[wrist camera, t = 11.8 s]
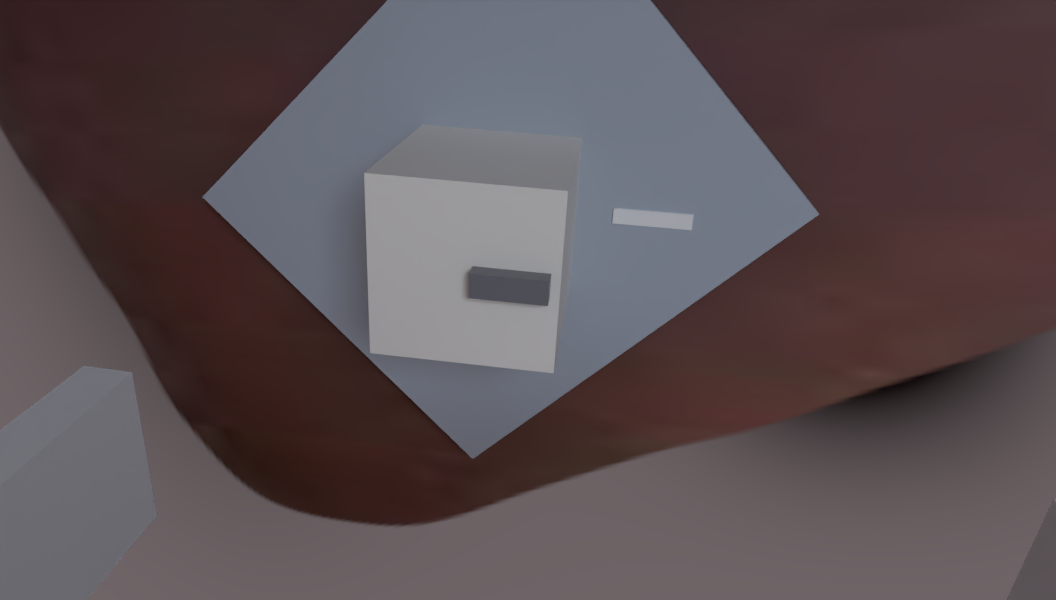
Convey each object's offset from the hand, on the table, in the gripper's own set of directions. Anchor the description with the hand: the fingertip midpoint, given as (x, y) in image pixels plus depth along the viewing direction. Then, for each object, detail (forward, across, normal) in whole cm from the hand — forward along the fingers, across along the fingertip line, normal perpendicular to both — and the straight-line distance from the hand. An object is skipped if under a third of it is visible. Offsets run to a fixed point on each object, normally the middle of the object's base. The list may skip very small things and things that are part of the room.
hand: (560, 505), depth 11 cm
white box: (+19, -4, -2) cm, 20 cm away
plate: (+21, -4, -2) cm, 21 cm away
